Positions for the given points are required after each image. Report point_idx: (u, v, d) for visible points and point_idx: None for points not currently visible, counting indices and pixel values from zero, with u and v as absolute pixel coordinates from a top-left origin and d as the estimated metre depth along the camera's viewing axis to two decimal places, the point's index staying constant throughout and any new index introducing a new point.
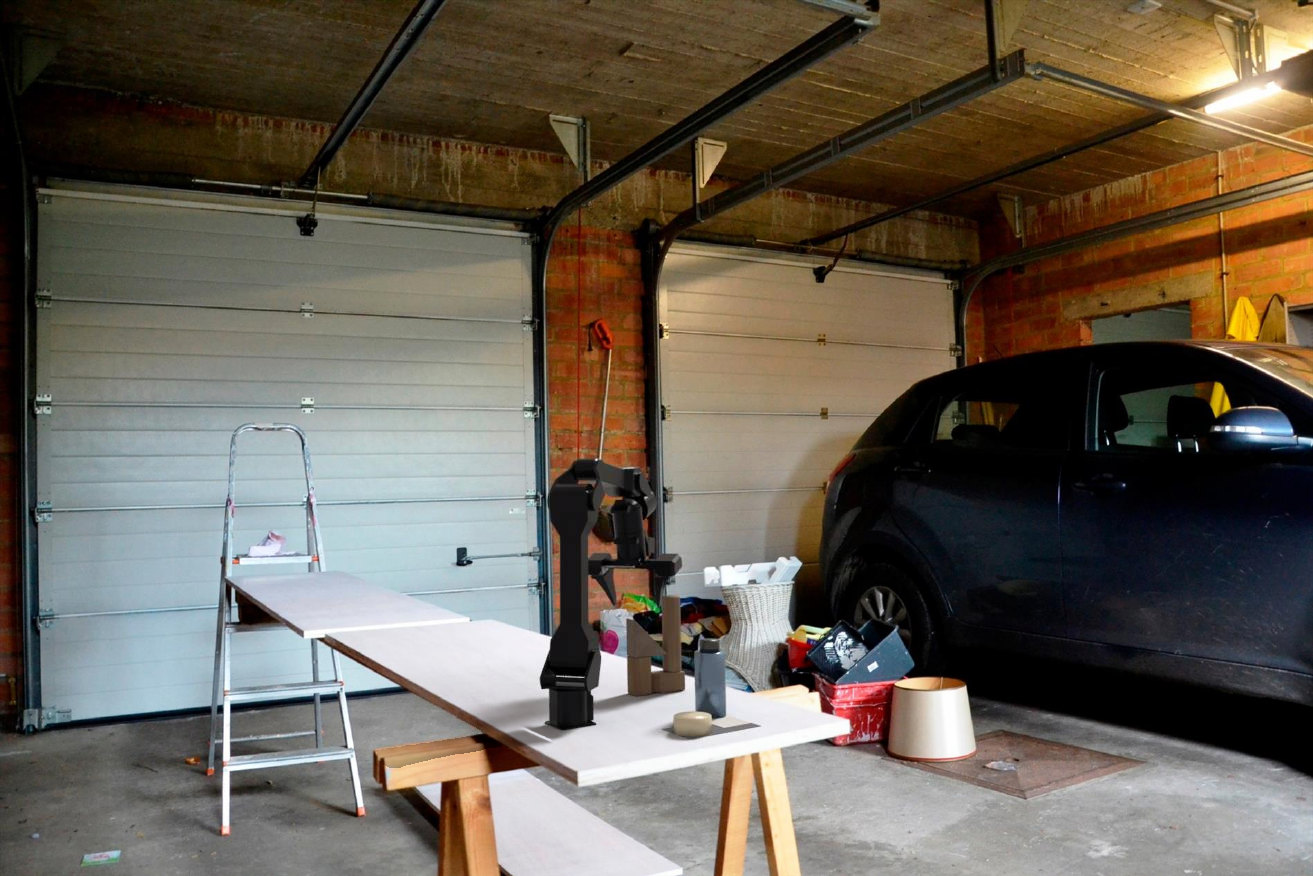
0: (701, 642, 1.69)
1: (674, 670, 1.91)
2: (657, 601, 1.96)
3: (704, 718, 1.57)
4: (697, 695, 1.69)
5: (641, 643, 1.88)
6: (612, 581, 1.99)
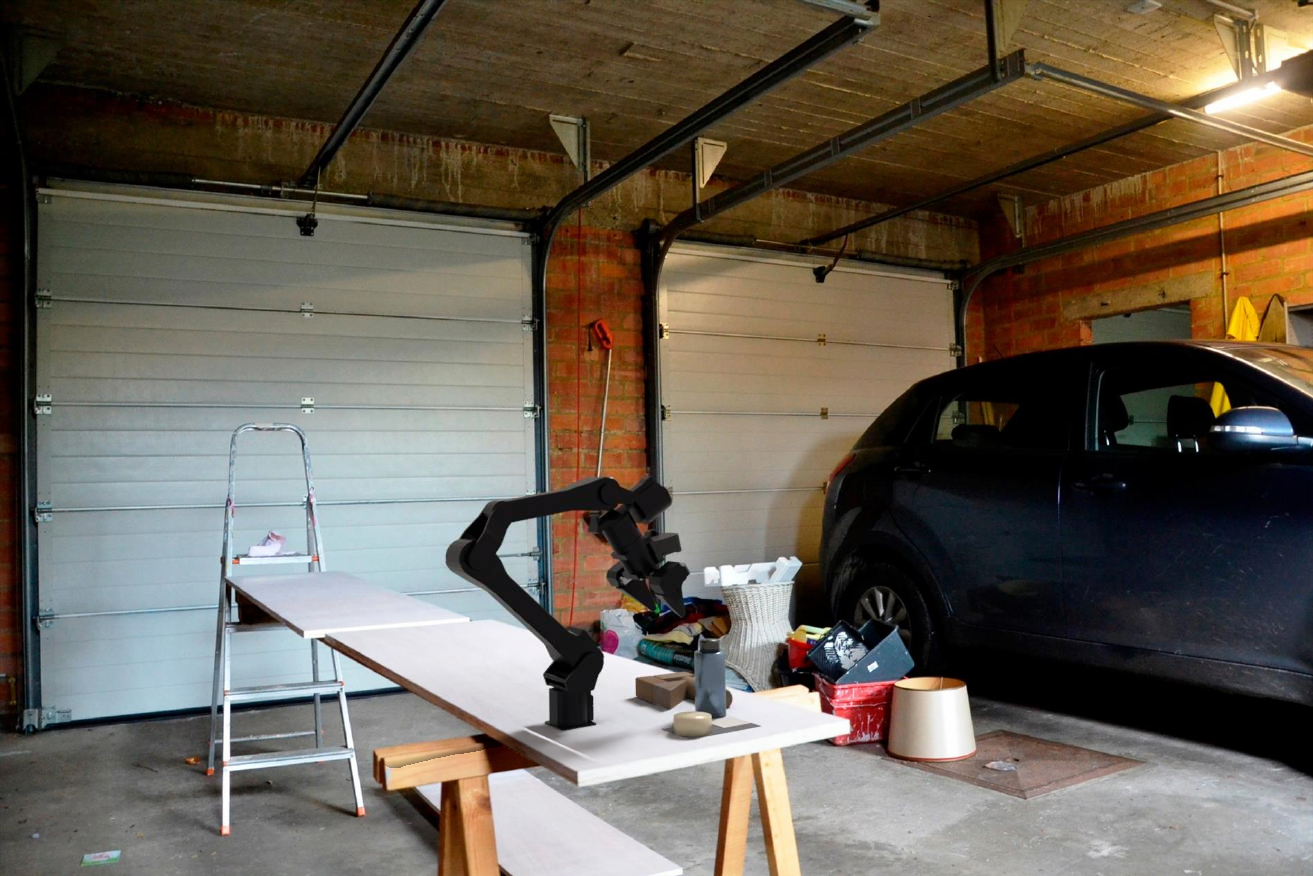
0: (701, 642, 1.69)
1: None
2: (676, 613, 1.72)
3: (704, 718, 1.57)
4: (697, 695, 1.69)
5: None
6: (644, 587, 1.80)
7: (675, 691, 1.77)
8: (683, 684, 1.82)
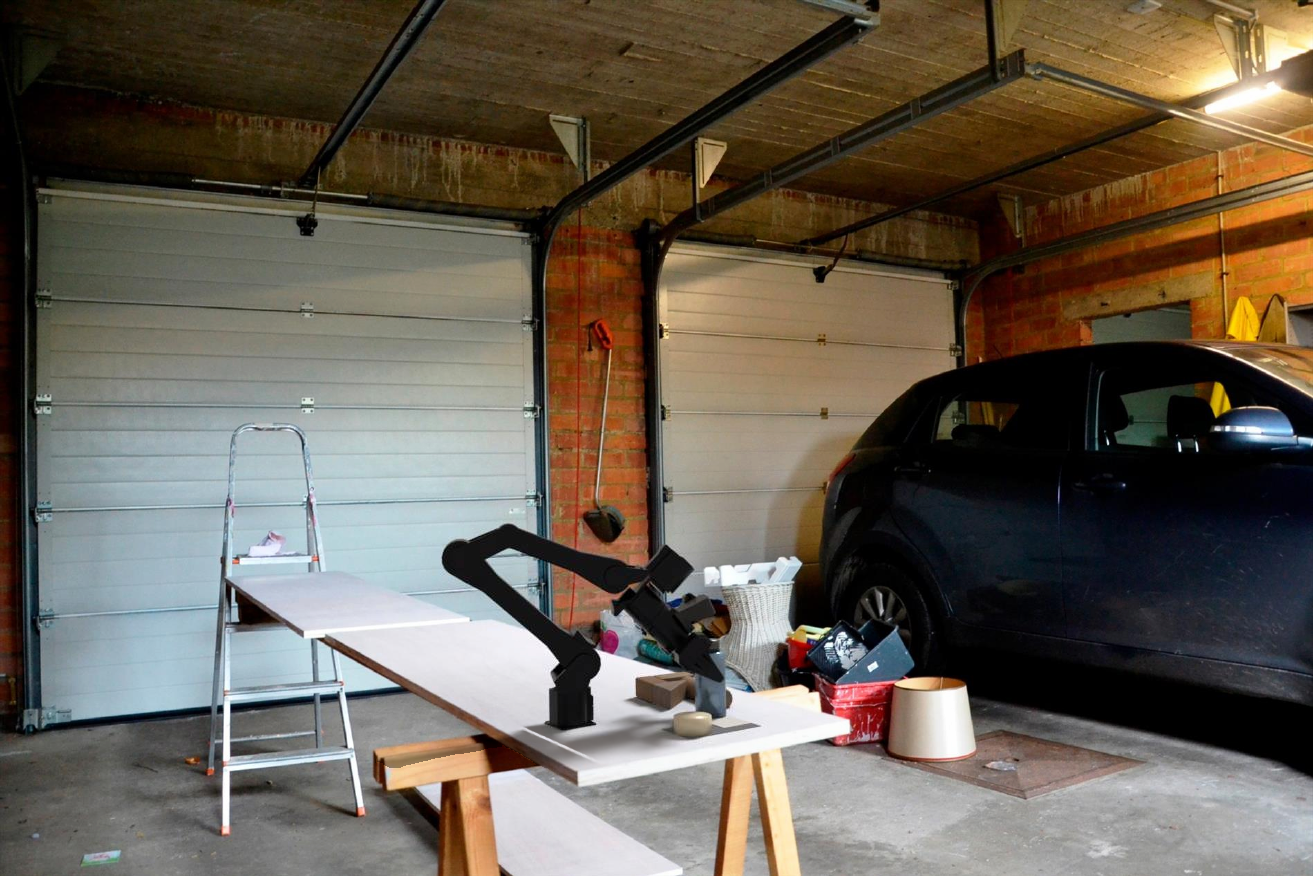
0: None
1: None
2: (712, 679, 1.67)
3: (704, 718, 1.57)
4: (697, 695, 1.69)
5: None
6: None
7: (675, 691, 1.77)
8: (683, 684, 1.82)
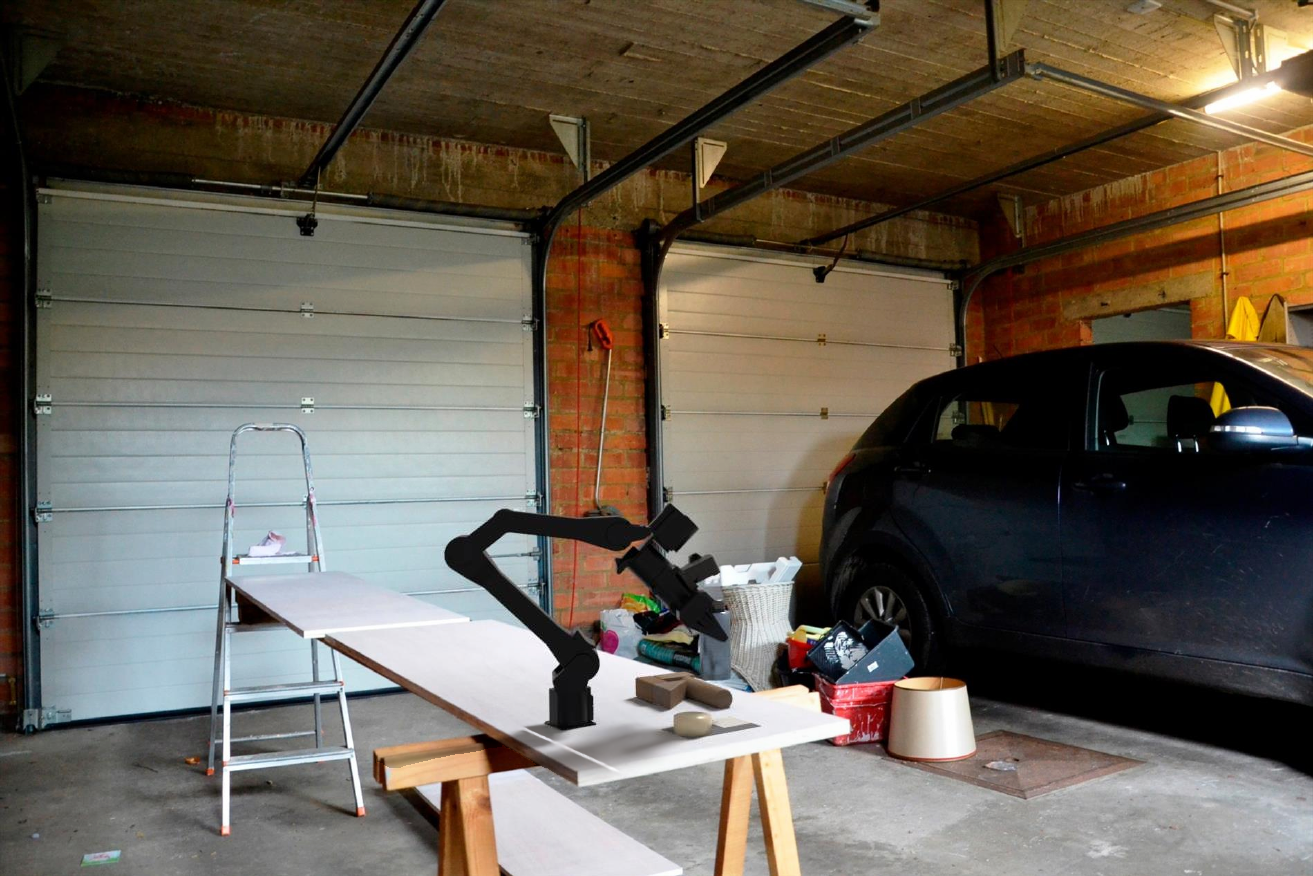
0: None
1: None
2: None
3: (704, 718, 1.57)
4: (701, 655, 1.68)
5: None
6: None
7: (675, 691, 1.77)
8: (683, 684, 1.82)
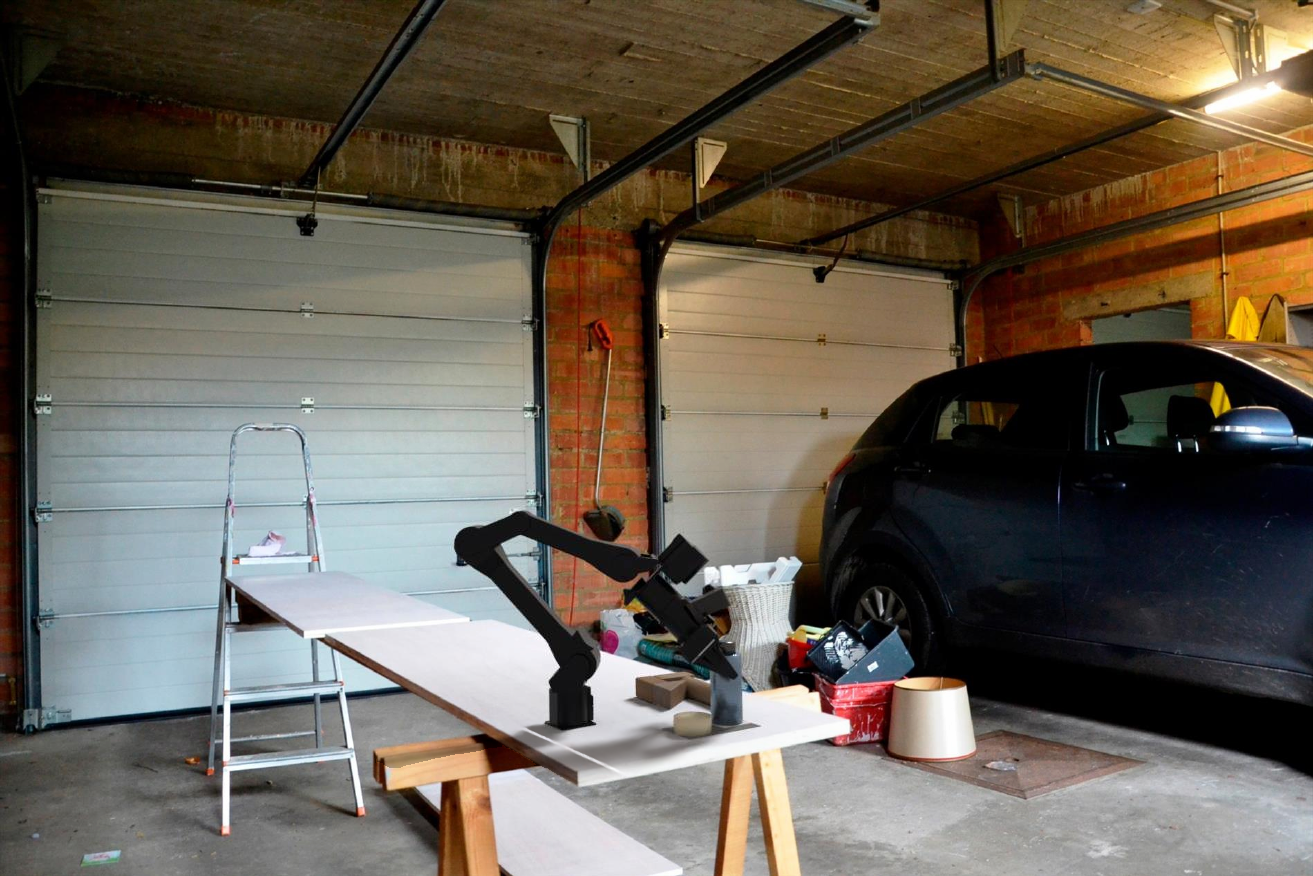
0: None
1: None
2: None
3: (704, 718, 1.57)
4: (711, 698, 1.64)
5: None
6: None
7: (675, 691, 1.77)
8: (683, 684, 1.82)
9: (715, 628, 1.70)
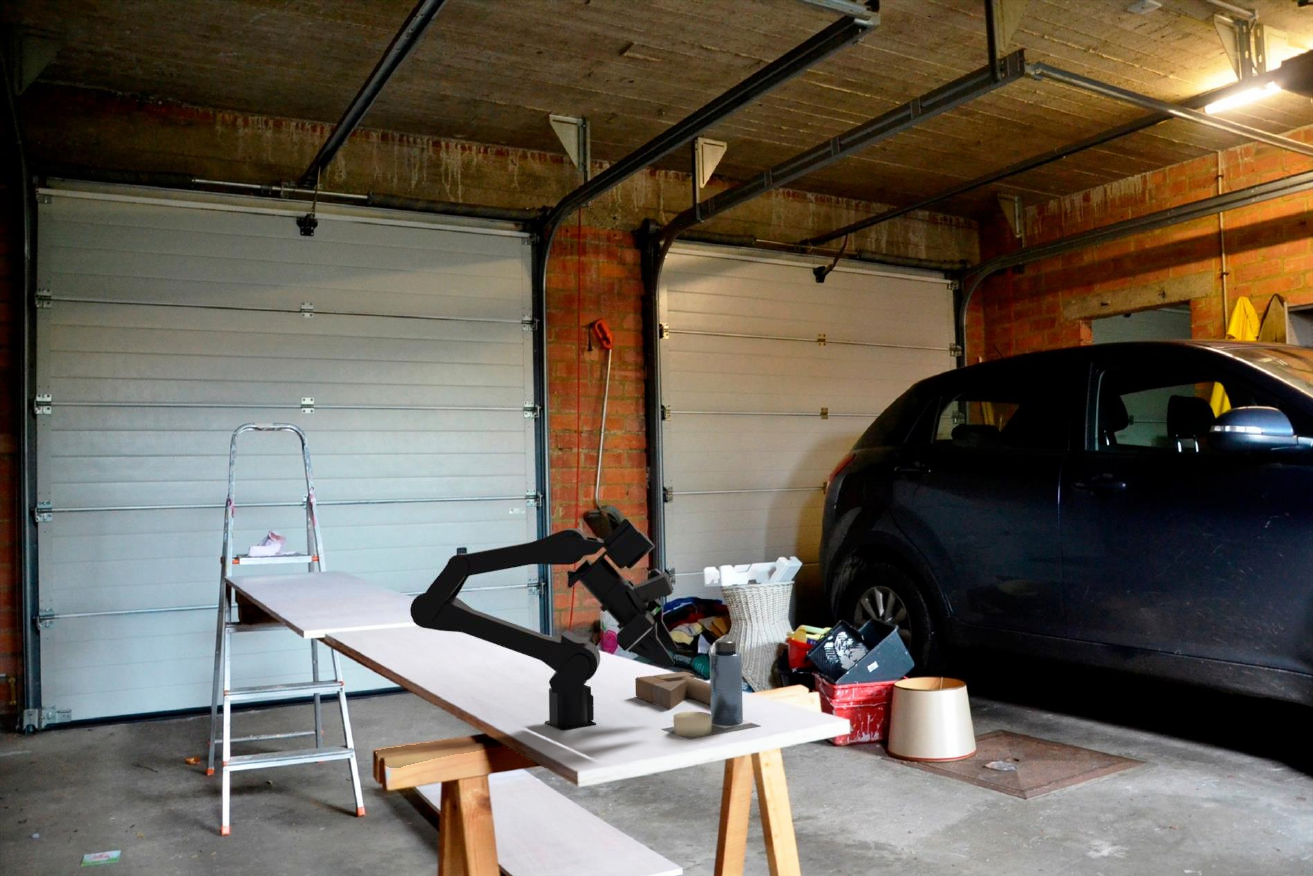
0: (716, 644, 1.64)
1: None
2: None
3: (704, 718, 1.57)
4: (711, 698, 1.64)
5: None
6: (660, 628, 1.71)
7: (675, 691, 1.77)
8: (683, 684, 1.82)
9: (660, 612, 1.71)
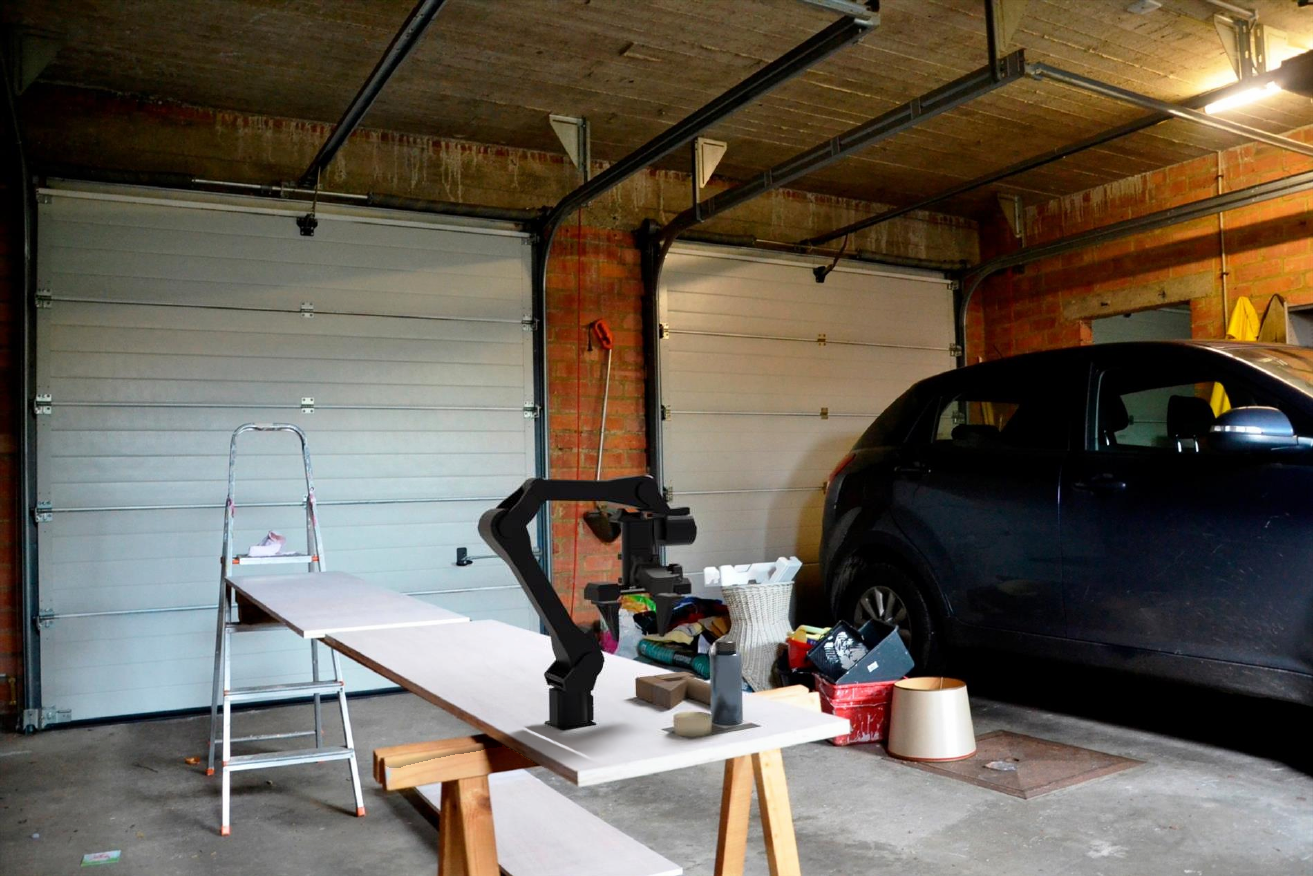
0: (716, 643, 1.64)
1: None
2: None
3: (704, 718, 1.57)
4: (711, 698, 1.64)
5: None
6: (664, 609, 1.74)
7: (675, 691, 1.77)
8: (683, 684, 1.82)
9: (671, 599, 1.73)
